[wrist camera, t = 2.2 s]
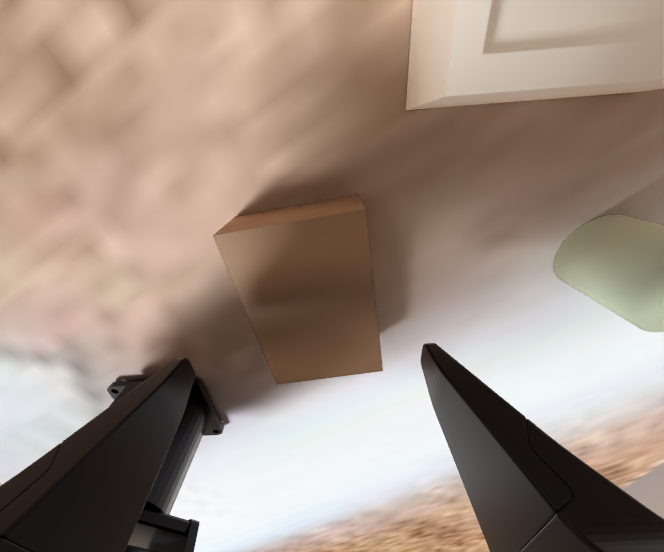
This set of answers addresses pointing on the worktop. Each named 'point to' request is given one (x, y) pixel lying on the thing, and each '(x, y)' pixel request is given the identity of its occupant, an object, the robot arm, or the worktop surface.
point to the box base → (532, 50)
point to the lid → (307, 287)
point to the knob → (618, 267)
